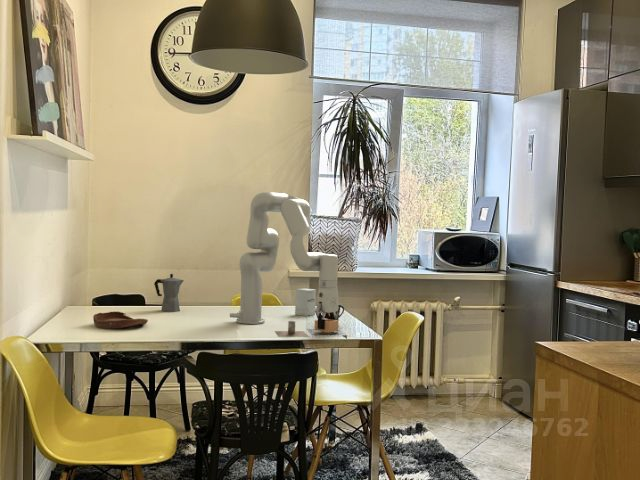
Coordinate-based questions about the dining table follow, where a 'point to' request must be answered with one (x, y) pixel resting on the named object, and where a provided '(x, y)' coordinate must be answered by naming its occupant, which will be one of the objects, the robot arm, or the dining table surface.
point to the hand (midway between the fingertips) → (326, 327)
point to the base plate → (316, 332)
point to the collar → (328, 325)
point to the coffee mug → (336, 314)
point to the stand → (291, 331)
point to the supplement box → (305, 302)
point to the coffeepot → (169, 293)
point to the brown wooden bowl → (116, 320)
